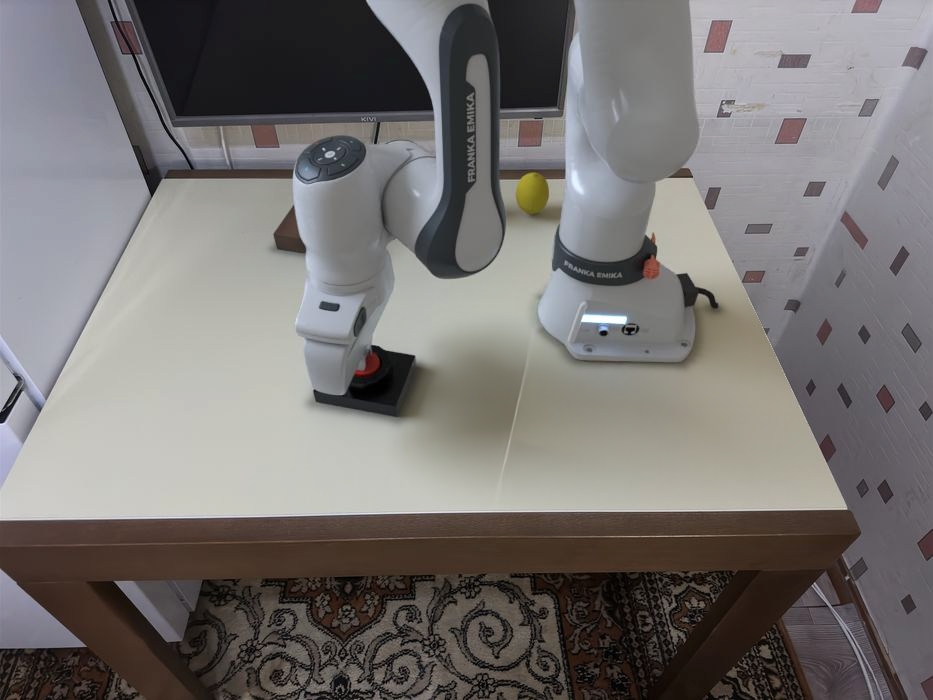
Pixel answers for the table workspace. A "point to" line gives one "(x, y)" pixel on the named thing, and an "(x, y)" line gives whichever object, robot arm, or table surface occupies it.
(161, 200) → the table surface
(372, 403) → the button box
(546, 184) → the lemon
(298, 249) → the panel
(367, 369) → the button
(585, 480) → the table surface
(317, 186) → the robot arm
